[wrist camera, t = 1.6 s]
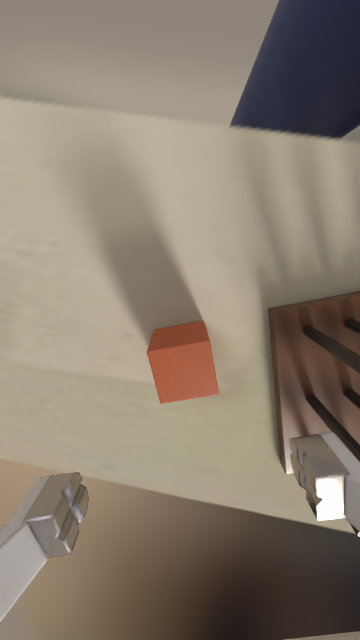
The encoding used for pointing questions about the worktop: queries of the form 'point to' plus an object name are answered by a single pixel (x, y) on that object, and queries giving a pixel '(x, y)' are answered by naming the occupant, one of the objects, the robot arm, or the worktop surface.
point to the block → (182, 362)
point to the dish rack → (317, 371)
